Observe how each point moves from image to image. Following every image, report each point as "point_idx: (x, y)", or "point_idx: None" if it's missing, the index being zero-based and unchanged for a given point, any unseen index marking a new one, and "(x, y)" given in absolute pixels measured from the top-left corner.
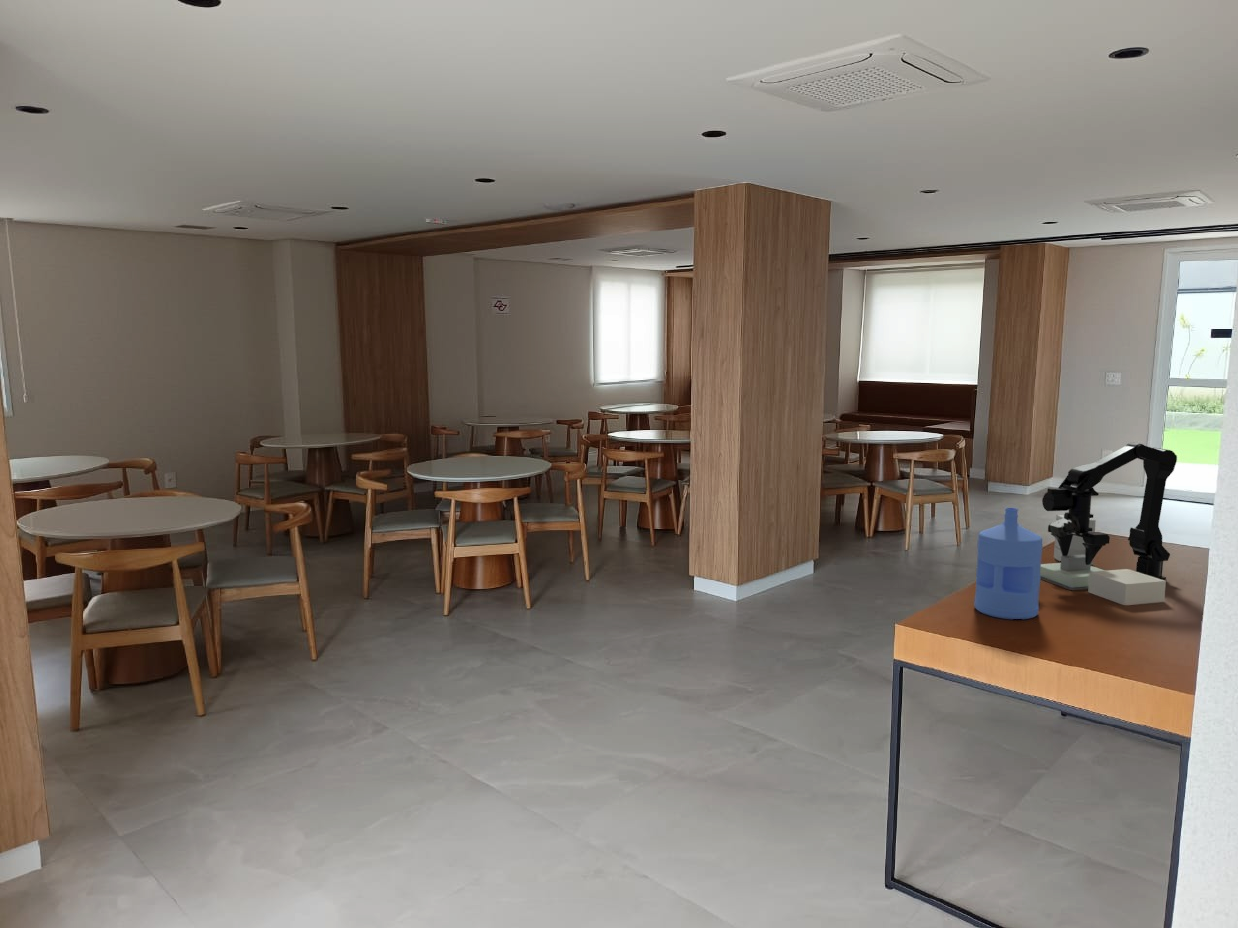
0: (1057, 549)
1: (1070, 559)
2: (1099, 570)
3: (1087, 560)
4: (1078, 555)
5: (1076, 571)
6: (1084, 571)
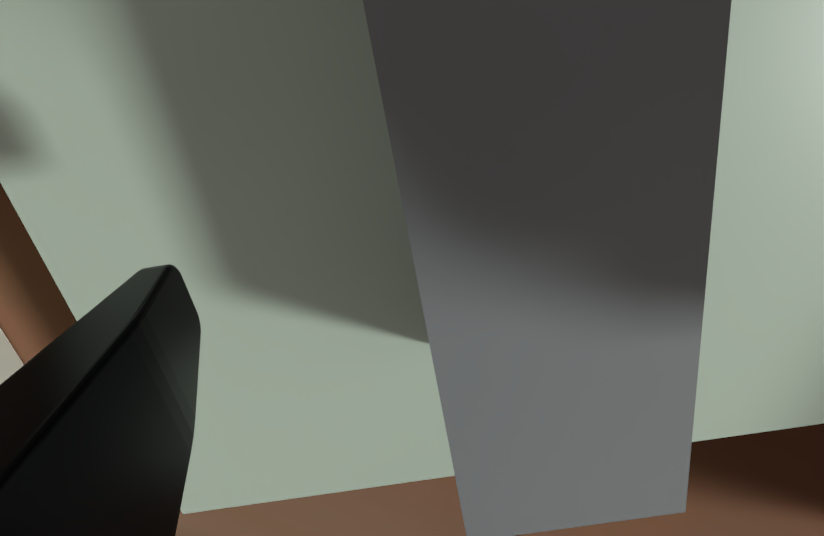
0: None
1: (371, 16)
2: (381, 429)
3: (68, 336)
4: (631, 390)
5: (336, 62)
6: (336, 209)
